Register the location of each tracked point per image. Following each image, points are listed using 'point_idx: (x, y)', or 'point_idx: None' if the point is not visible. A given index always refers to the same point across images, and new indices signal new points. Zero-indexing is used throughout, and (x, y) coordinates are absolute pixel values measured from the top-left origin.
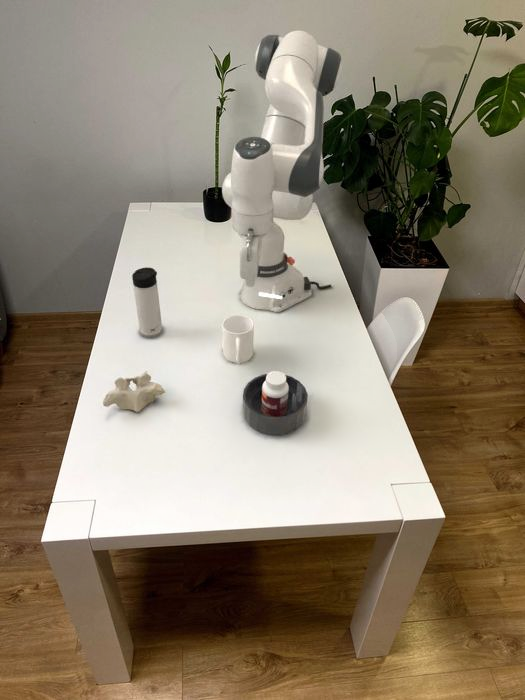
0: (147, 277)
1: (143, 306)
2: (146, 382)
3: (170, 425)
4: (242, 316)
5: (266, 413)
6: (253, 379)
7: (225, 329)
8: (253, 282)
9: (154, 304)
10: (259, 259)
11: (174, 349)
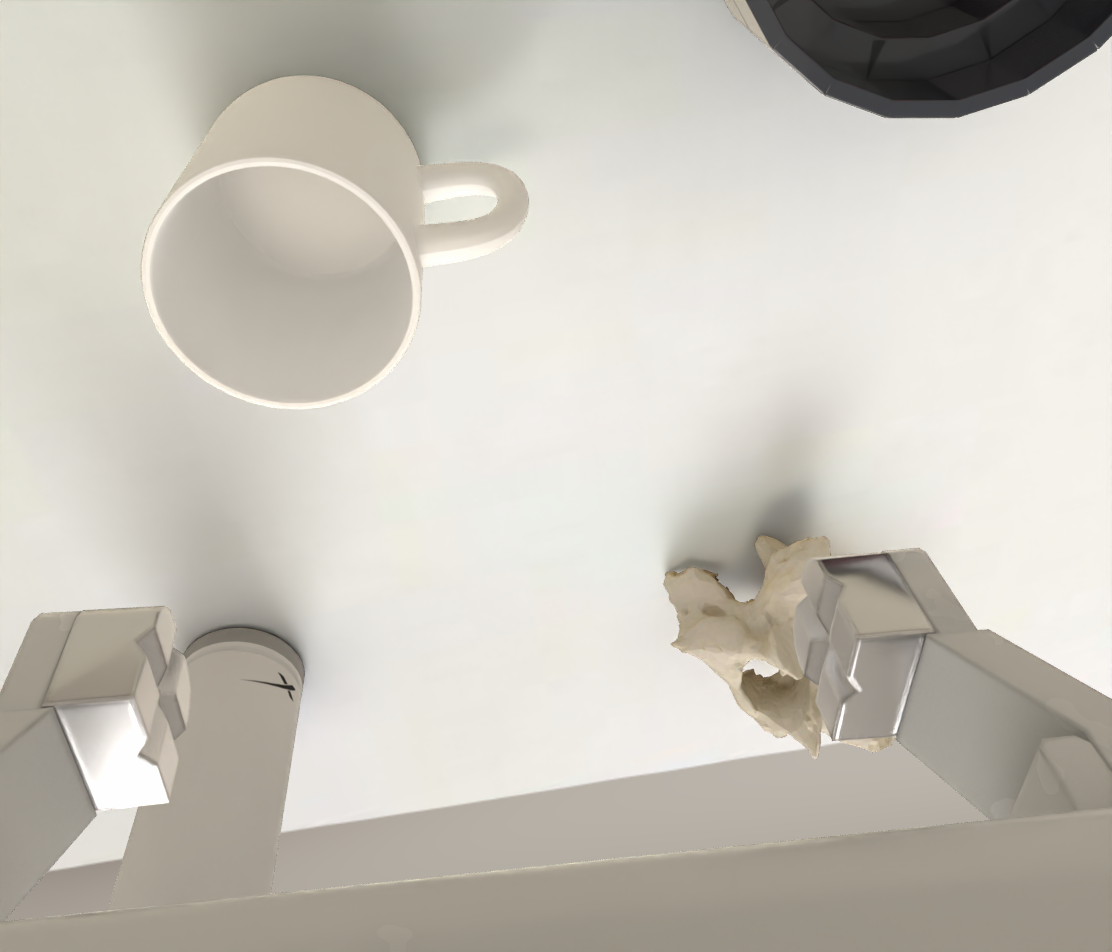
0: None
1: (277, 849)
2: (787, 634)
3: (937, 433)
4: (152, 269)
5: None
6: (793, 57)
7: (378, 374)
8: (953, 606)
9: (238, 812)
10: (937, 920)
11: (364, 540)
